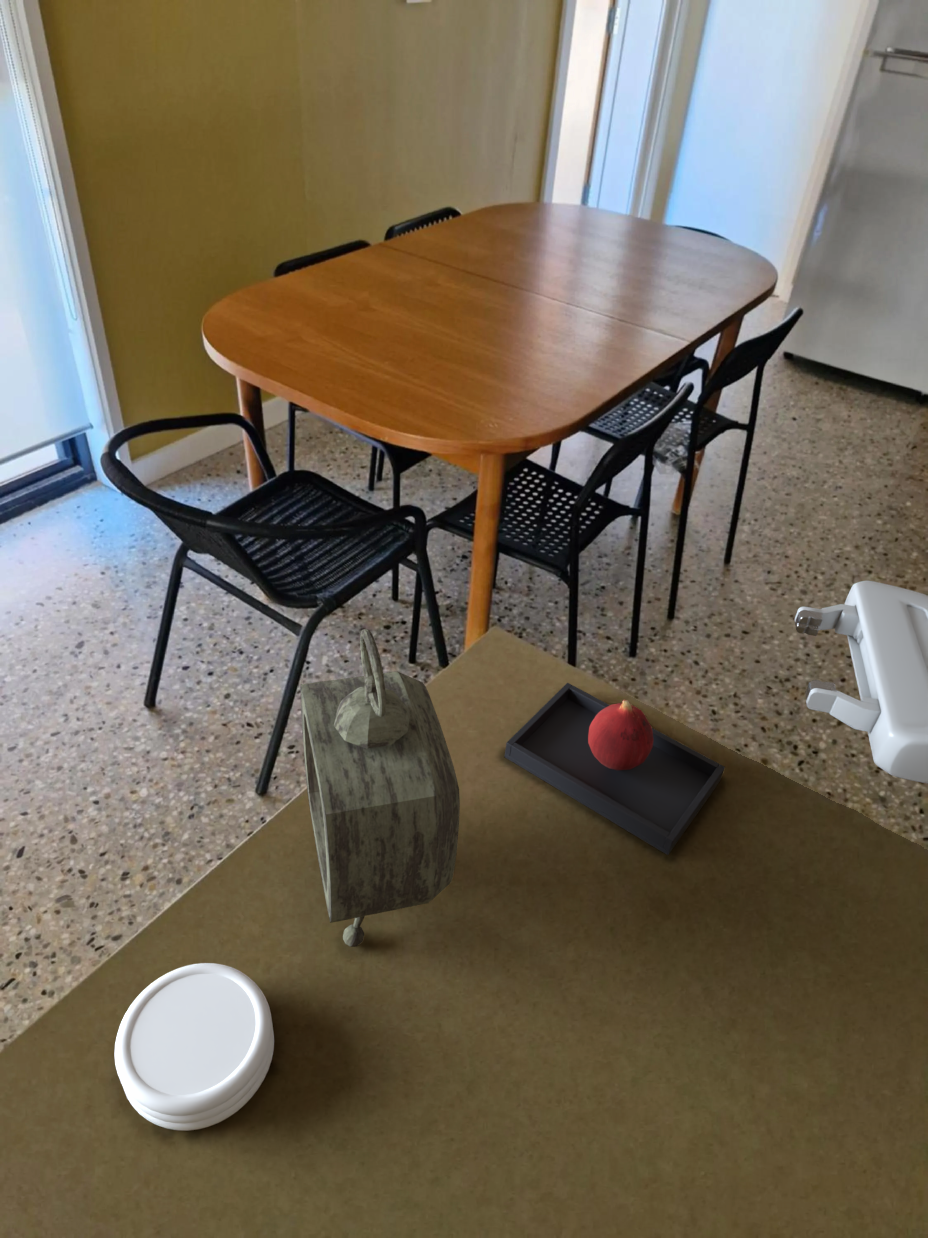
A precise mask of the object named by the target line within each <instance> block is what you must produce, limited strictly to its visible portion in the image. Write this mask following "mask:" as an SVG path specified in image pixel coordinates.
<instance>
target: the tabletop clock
mask: <svg viewBox="0 0 928 1238" xmlns="http://www.w3.org/2000/svg"><path fill="white" fill-rule="evenodd" d="M359 644H360V646H359V647H360V659H361V660H360V661H361V668H362V673H363V675H361V676H353V677H344V678H338V679H330V680H323V681H322V680H321V681H316V682H314V681H313V682H307V683H301V684H300V692H299V693H300V713H301V715H300V716H301V732H302V744H303V745H302V746H303V757H304V758H303V759H304V770H305V782H306V791H307V798H308V799H307V800H308V806H309V811H310V818H311V825H312V831H313V836H314V843H315V849H316V854H317V861H318V865H319V871H320V875H321V883H322V888H323V894H324V900H325V903H326V909H327V914H328V919H329V923H331V924H332V923H336V922H342V921H346V920H353V919H354V921H353V924H350V925H348V926H347V927H346V928H345V929H344V930H343V933H342V940H343V942H344V944H345V945H347V946H348V947H351V948H357V947H358V946H359V945H361V944H362V943H363V942H364V938H365V931H364V930H363V928H362V927H361V926H362V923H363V922H364V919H365V917H367V916H371V915H377V914H382V913H387V912H391V911H396V910H397V911H398V910H401V909H406V908H411V907H416V906H421V905H426V904H429V903H431V902H432V900H434V899H435V898H436V897H437V896H438V895H440V893H442V892H443V891H444V890H445V889H446V888H447V887H448V886H449V885H450V884H451V883H452V882H453V878H454V873H455V865H456V860H457V854H458V853H457V852H458V842H459V830H460V829H459V828H460V817H461V815H460V814H461V813H460V812H461V808H460V807H461V802H460V801H461V800H460V788H459V787H460V786H459V782H458V778H457V773H456V769H455V766H454V763H453V760H452V756H451V753H450V750H449V747H448V744H447V741H446V737H445V734H444V732H443V729H442V726H441V722H440V720H439V717H438V715H437V712H436V709H435V707H434V704H433V701H432V699H431V696H430V693H429V691H428V688H427V687H426V685H425V683H424V682H423V681H421V680H418V679H416V678H414V677H411V676H409V675H407V674H404V673H403V672H400V671H391V672H384V669H383V664H382V659H381V656H380V655H381V654H380V652H379V649H378V645H377V642H376V639H375V638H374V635H373V633H372V632H371V630H370V629H367V628H365V629H362V630H361V631H360V635H359Z"/></svg>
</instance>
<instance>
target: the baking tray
mask: <svg viewBox="0 0 928 1238" xmlns="http://www.w3.org/2000/svg"><path fill="white" fill-rule="evenodd" d="M609 705H610V704H609V703H607V702H605V701H603V700H601V699H599V698H597V697H596V696H594V695H591V694H590V693H588V692H586V691H584V690H582V689H581V688H579V687H577V686H575V685H573V684H571V683H569V682H566V683H565V684H564V685H563V686H562V687H561V689H559V690H558V691H557V692H556V693H555V694H554V695H553V696H552V697H551V698H550V699H549V700H548V701H547V702H546V703H545V704H544V705H543V706H542V707H541V708H540V709H538V711H537V712H536V713H535V714H534V715H533V716H532V717H531V718H530V719H529V720H528V721H527V722H526V723H525V724H524V725H522V727H521V728H520V729H519V730H518V731H517V732H515V734H514V735H512V737H511V738H509V740H507V742H505V750H504V755H503V757H504V758H505V759H506V760H509V761H510V762H512V763H513V764H515V765H517V766H519V767H520V768H522V769H523V770H525V771H527V772H529V774H532V775H534V776H535V777H537V778H538V779H540V780H542V781H544V782H545V783H546V784H548V785H550V786H551V787H553V788H555V789H557V790H558V791H560V792H562V793H564V794H565V795H567V796H568V797H570V798H572V799H574V800H575V801H577V802H578V803H580V804H581V805H583V806H585V807H587V808H588V809H590V810H592V811H593V812H594V813H597V814H598V815H600V816H602V817H603V818H605V819H606V820H608V821H610V822H612V823H613V824H615V825H616V826H618V827H620V828H621V829H624V830H625V831H627V832H628V833H630V834H632V835H633V836H635V837H637V838H638V839H639V840H641V841H643V842H645V843H646V844H648V845H650V846H652V847H653V848H655V849H657V850H658V851H660V852H661V853H664V854H665V855H667V856H668V855H670V853H671V852H672V850H673V849H674V848H675V846H676V845H677V844H678V842H679V840H680V839H681V837H682V836H683V835H684V833H685V832H686V831H687V829H688V828H689V827H690V825H691V823H692V822H693V820H694V819H695V817H696V816H697V815H698V813H699V812H700V810H701V809H702V807H703V806H704V805H705V804H706V802H707V801H708V799H709V798H710V797H711V795H712V793H714V790H715V789H716V788H717V786H718V785H719V783H720V782H721V780H722V777H723V775H724V771H725V769H726V767H725V766H724V765H722V764H720V763H719V762H717V761H715V760H713V759H711V758H709V757H708V756H706V755H704V754H702V753H700V752H698V751H696V750H694V749H693V748H691V747H689V746H688V745H685V744H683V743H682V742H679V741H678V740H676V739H675V738H674V739H673V738H672V737H670V736H669V735H667V734H665V733H662V732H661V731H660V730H657V729H655V728H654V727H652V731H653V747H652V749H651V751H650V753H649V755H648V756H647V758H646V760H645V761H644V762H643V763H642V764H640V765H639V766H636V767H634V768H632V769H629V770H614V769H609V768H608V767H606V766H604V765H603V764H601V763H600V762H599V761H598V760H597V758H596V757H595V756H594V755H593V753H592V751H591V748H590V746H589V743H588V735H589V727H590V725H591V723H592V721H593V719H594V718H595V716H596V715H597V714H598V713H599V712H600V711H601V710H603V709H604V708H606V707H608V706H609Z"/></svg>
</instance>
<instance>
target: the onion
mask: <svg viewBox="0 0 928 1238" xmlns="http://www.w3.org/2000/svg"><path fill="white" fill-rule="evenodd" d="M652 728H653V727H652V725H651V723H650V721H649V720H648V718H647V717H646V715H645V713H644V712H643V711H642V710H641V709H640V708H638V707H637V706H635V705H634V704H631V702H630V701H629V700H627V699H623V700H622V702H617V703H612V704H609V706H608V707H606V708H604V709H603V710H601V711H600V712H599V713H598V714H597V715H596V716H595V718H594V719H593V721H592V723H591V725H590V727H589V735H588V743H589V746H590V748H591V751H592V753H593V755H594V756H595V757H596V758H597V760H598V761H599V762H600V763H601V764H603V765H604V766H606V767H608V768H609V769H614V770H629V769H632V768H634V767H636V766H639V765H640V764H642V763H643V762H644V761H645V760H646V758H647V756H648V755H649V753H650V751H651V749H652V747H653V731H652Z"/></svg>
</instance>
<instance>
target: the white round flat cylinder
mask: <svg viewBox="0 0 928 1238" xmlns="http://www.w3.org/2000/svg"><path fill="white" fill-rule="evenodd" d="M274 1050H275V1033H274V1027H273V1019H272V1013H271V1009H270V1005H269V1003H268V1000H267V998H266V996H265V993H264V992H263V990H262V989H261V988H260V987H259V985H258V984H257V983H256V981H254V980H253V979H252V978H251V977H249V975H247V974H246V973H244V972H242V971H241V970H239V969H237V968H234V967H233V966H229V965H226V964H222V963H215V962H199V963H193V964H187V965H184V966H181V967H178V968H175V969H173V970H171V971H169V972H167V973H165V974H163V975H162V976H160V977H158V978H157V979H155V980H154V981H153V982H151V983H150V984H149V985H148V986H146V987H145V988H144V989H143V990H142V991H141V992H140V993H139V994H138V995H137V996H136V997H135V999H134V1000H133V1001H132V1003H131V1004H130V1005H129V1007H128V1008H127V1011H126V1012H125V1013H124V1015H123V1018H122V1020H121V1022H120V1024H119V1027H118V1031H117V1034H116V1038H115V1043H114V1054H113V1055H114V1065H115V1069H116V1073H117V1076H118V1078H119V1081H120V1084H121V1086H122V1088H123V1091H124V1094H125V1096H126V1099H127V1100H128V1101H129V1103H130V1105H131V1106H132V1108H133V1109H134V1110H135V1111H136V1112H137V1113H138V1114H139V1116H141V1117H143V1118H144V1119H145V1120H146V1121H148V1122H150V1123H152V1124H154V1125H156V1126H159V1127H162V1128H163V1129H167V1130H173V1131H194V1130H195V1131H196V1130H201V1129H205V1128H209V1127H211V1126H214V1125H216V1124H219V1123H221V1122H223V1121H225V1120H227V1119H229V1118H230V1117H231V1116H233V1115H235V1114H236V1113H237V1112H239V1110H240V1109H242V1108H243V1107H244V1106H245V1105H246V1104H247V1103H248V1102H249V1101H250V1100H251V1099H252V1098H253V1097H254V1095H255V1094H256V1092H257V1091H258V1090H259V1088H260V1087H261V1085H262V1083H263V1082H264V1080H265V1078H266V1076H267V1074H268V1072H269V1070H270V1066H271V1063H272V1060H273V1055H274Z"/></svg>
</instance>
